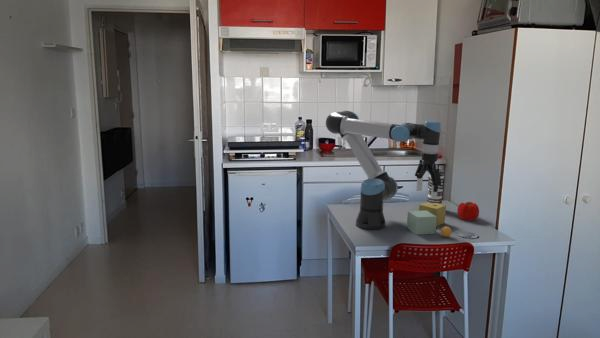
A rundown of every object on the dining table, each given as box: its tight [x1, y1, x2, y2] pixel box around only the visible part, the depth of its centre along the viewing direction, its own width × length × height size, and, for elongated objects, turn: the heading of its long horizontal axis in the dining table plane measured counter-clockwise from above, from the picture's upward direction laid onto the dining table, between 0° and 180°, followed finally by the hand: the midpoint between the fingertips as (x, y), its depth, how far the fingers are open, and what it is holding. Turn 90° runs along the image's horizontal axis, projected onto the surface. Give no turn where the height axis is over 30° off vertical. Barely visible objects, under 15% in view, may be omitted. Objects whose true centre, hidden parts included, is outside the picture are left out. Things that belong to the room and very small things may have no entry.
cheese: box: [418, 202, 447, 227], centre depth 238 cm, size 10×11×10 cm
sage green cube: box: [406, 210, 437, 235], centre depth 225 cm, size 10×10×9 cm
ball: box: [440, 226, 452, 238], centre depth 217 cm, size 5×5×5 cm
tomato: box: [456, 201, 480, 221], centre depth 246 cm, size 11×12×9 cm
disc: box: [456, 231, 476, 240], centre depth 221 cm, size 10×10×1 cm
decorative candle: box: [426, 166, 446, 204], centre depth 262 cm, size 9×9×25 cm
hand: (426, 194), depth 227 cm, fingers open, 13 cm apart
